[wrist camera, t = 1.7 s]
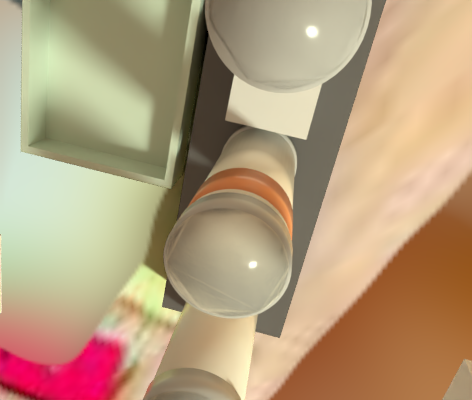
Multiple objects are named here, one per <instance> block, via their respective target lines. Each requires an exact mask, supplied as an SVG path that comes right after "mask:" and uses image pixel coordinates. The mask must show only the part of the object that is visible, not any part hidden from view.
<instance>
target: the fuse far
mask: <svg viewBox="0 0 472 400" xmlns="http://www.w3.org/2000/svg"><path fill="white" fill-rule="evenodd" d="M257 317H258V314H257V315H254V316H250V317H246V318H238V319H229V318H221V317H216V316H212V315H209V314H206V313H204V312H202V311H200V310H198V309H196V308H194V307H193V306H191V305H190V304H189V303H187V302H186V303H185V306H184V308H183V310H182V313H181V315H180V318H179V320H178V322H177V325H176V327H175V330H174V332H173V334H172V337H171V339H170V342H169V344H168V346H167V349H166V351H165V354H164V356H163V358H162V361H161V363H160V366H159V368H158V370H157V373H156V375H155V378H154V380H153V381H152V382H151V383H150V385H149V387H148V389H147V391H146V394H145V396H144V398H143V400H245V394H246V388H247V381H248V375H249V368H250V362H251V356H252V349H253V343H254V336H255V330H256V324H257Z"/></svg>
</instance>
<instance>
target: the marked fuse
mask: <svg viewBox="0 0 472 400" xmlns="http://www.w3.org/2000/svg"><path fill="white" fill-rule="evenodd" d="M296 169H297V152H296V148H295V145H294V143H293V141H292V139H291V138H290V136H288V135H284V134H280V133H276V132H271V131H267V130H263V129H259V128H255V127H251V126H247V125H244V126H242V127H240V128H239V129H237V130H236V131H235V132H234V133H233V134H232V135H231V136H230V138H229V139H228V141H227V142H226V144H225V146H224V148H223V150H222V153H221V155H220V157H219V159H218V160H217V162H216V164H215V165H214V167H213V168H212V170H211V172H210V173H209V175H208V177H207V178H206V180H205V182H204V183H203V184H202V185H201V186H200V188H199V189H198V191H197V192H196V194H195V196H194V197H193V199H192V201H191V202H190V204H189V205H188V207H187V208H186V209H185V211H184V212H183V213H182V214H181V216H180V217H179V219H178V221H177V222H176V224H175V225H174V227H173V229H172V230H171V232H170V233H169V235H168V238H167V240H166V243H165V247H164V266H165V271H166V274H167V277H168V279H169V281H170V283H171V285H172V286H173V288H174V289H175V291H176V292H177V293H178V294H179V295H180V296H181V297H182V298H183V299H184V300H185V301H186V302H187V303H189V304H190V305H191V306H193V307H194V308H196V309H198V310H200V311H202V312H204V313H206V314H209V315H212V316H216V317H221V318H229V319H238V318H246V317H250V316H254V315H257V314H259V313H262V312H264V311H265V310H267V309H269V308H270V307H272V306H273V305H274V304H275V303H276V302H277V301H278V300H279V299H280V298H281V297H282V296H283V294H284V292H285V291H286V289H287V287H288V284H289V282H290V278H291V272H292V254H293V248H292V229H293V210H292V209H293V192H294V177H295V174H296Z"/></svg>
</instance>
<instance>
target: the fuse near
mask: <svg viewBox="0 0 472 400" xmlns="http://www.w3.org/2000/svg"><path fill="white" fill-rule="evenodd" d="M371 6H372V0H205V17H206V24H207V29H208V32H209V36H210V39H211V41H212V44H213V47H214V48H215V50H216V52H217V54H218V56H219V57H220V59H221V60H222V61H223V63H224V64H225V65H226V66H227V68H228V69H229V70H230V71H231V72H232V73H233V74H235V75H236V76H237V77H238V78H239V79H241V80H243V81H244V82H246V83H247V84H249V85H251V86H253V87H256V88H258V89H261V90H264V91H268V92H274V93H295V92H301V91H305V90H308V89H311V88H314V87H316V86H319V85H320V84H322V83H324V82H326V81H328V80H329V79H331V78H332V77H333V76H335V75H336V74H337V73H338V72H339V71H341V70H342V69H343V68H344V67H345V66H346V65H347V63H348V62H349V61H350V60H351V59H352V57H353V56H354V54H355V53H356V51H357V50H358V48H359V46H360V44H361V42H362V40H363V38H364V36H365V33H366V30H367V28H368V24H369V19H370V15H371Z"/></svg>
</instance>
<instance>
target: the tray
mask: <svg viewBox="0 0 472 400" xmlns="http://www.w3.org/2000/svg"><path fill="white" fill-rule="evenodd" d="M206 31H207V24H206V17H205V0H22V74H21V152H25V153H30V154H34V155H37V156H41V157H45V158H49V159H53V160H57V161H61V162H65V163H69V164H74V165H77V166H81V167H85V168H89V169H93V170H97V171H101V172H105V173H109V174H113V175H117V176H121V177H125V178H129V179H133V180H137V181H141V182H145V183H149V184H153V185H157V186H161V187H165V188H169V189H171V188H172V187H173V186H174V184H175V183H176V182H177V181H178V179H179V178H180V177H181V175H182V173H183V167H184V161H185V155H186V149H187V144H188V138H189V132H190V126H191V120H192V114H193V108H194V102H195V96H196V90H197V84H198V78H199V73H200V67H201V61H202V55H203V49H204V43H205V37H206Z"/></svg>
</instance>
